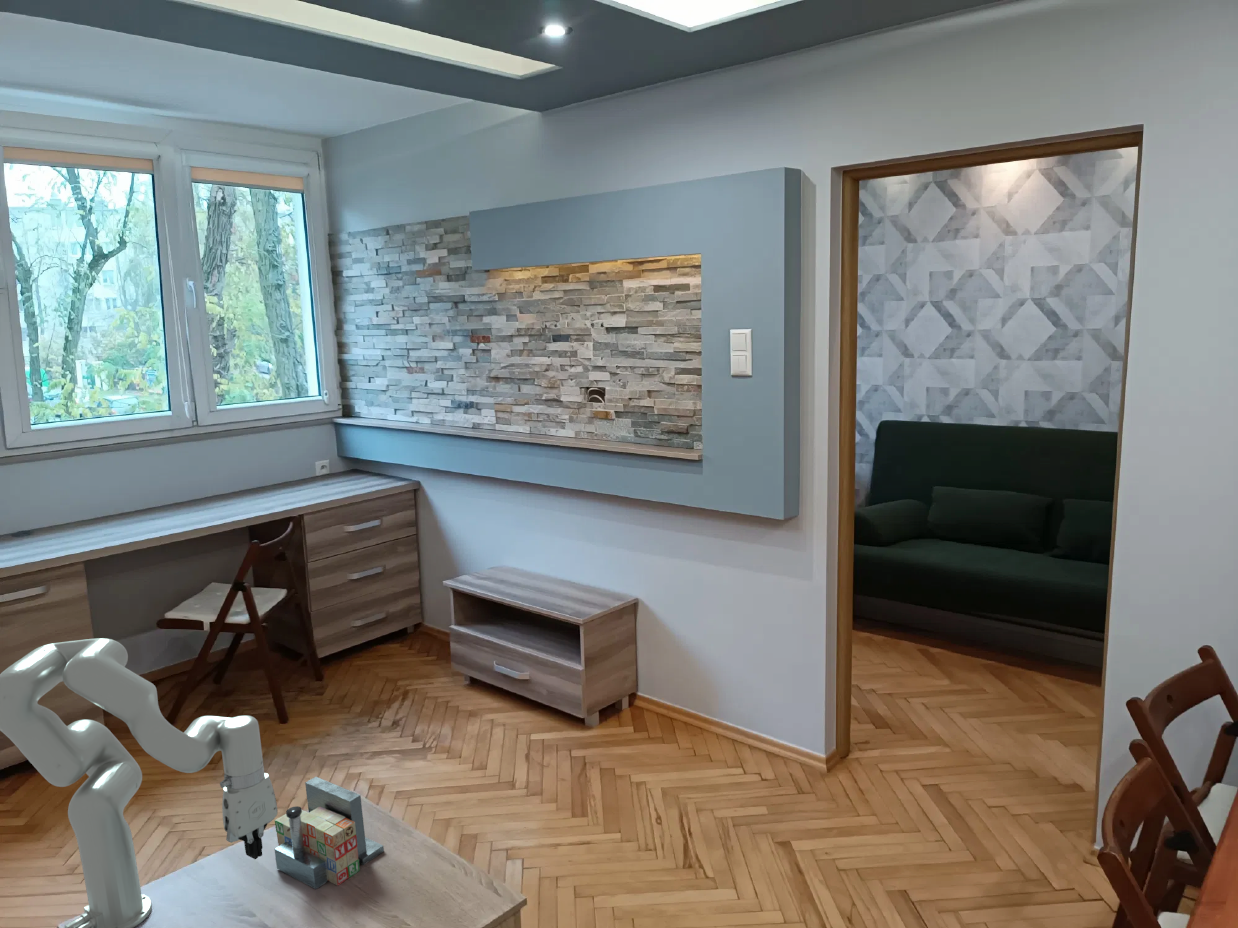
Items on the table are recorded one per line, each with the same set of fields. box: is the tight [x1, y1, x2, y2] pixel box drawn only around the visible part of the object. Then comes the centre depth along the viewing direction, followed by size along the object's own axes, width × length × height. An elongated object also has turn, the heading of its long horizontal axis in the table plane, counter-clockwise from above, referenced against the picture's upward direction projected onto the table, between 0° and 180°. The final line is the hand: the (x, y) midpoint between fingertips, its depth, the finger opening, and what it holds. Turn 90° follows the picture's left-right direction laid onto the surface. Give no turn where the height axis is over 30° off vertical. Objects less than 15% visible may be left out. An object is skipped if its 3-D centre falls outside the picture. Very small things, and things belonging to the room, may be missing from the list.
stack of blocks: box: [274, 807, 361, 886], centre depth 201 cm, size 21×6×12 cm, turn 56°
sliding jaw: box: [274, 806, 329, 890], centre depth 196 cm, size 4×14×16 cm, turn 55°
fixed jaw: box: [304, 776, 385, 866], centre depth 206 cm, size 8×18×16 cm, turn 55°
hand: (254, 855), depth 188 cm, fingers closed
